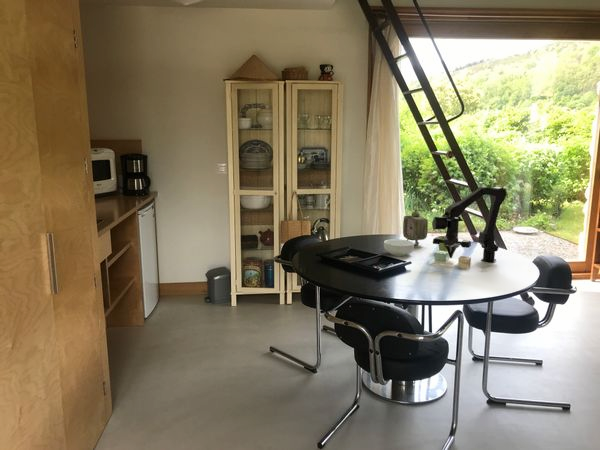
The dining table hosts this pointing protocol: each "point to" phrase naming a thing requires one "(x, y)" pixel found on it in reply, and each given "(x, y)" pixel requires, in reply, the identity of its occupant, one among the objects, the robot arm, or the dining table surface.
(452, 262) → the letter
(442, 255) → the translucent green block
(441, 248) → the plant pot
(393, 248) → the cereal bowl
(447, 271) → the dining table surface
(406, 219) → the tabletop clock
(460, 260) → the cube
